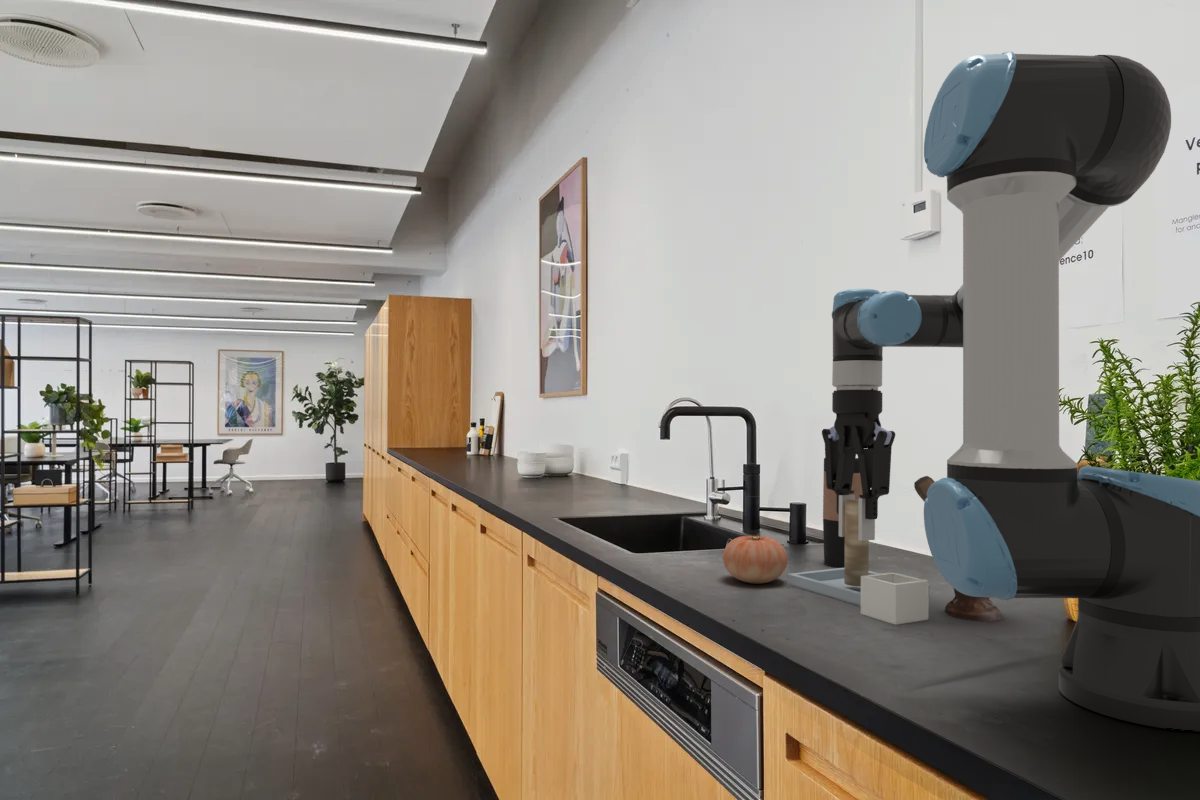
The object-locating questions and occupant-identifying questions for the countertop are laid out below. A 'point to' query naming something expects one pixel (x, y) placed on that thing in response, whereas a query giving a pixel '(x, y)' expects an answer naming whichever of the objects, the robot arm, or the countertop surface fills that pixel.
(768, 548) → the pumpkin
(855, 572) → the dowel
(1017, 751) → the countertop surface
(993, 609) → the mortar and pestle
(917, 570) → the countertop surface
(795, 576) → the tray
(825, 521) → the travel mug
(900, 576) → the open box
